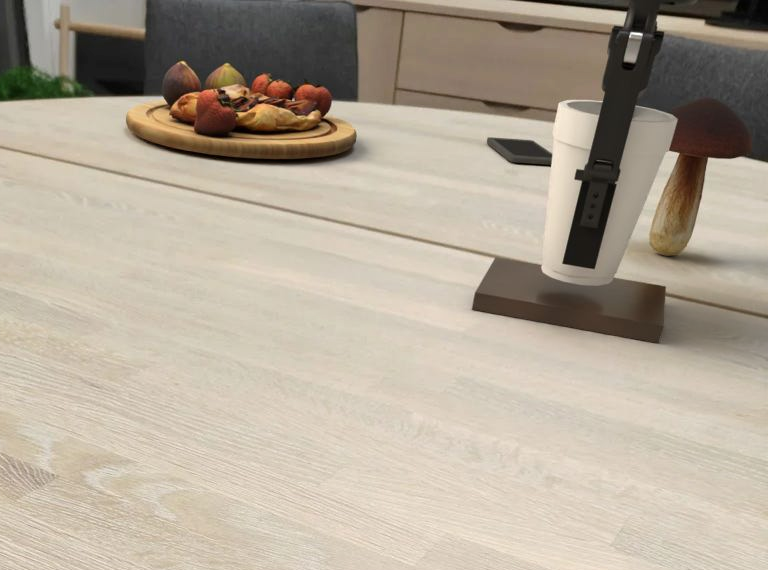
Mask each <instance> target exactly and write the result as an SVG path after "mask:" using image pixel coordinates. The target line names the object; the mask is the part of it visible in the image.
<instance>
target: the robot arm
mask: <svg viewBox="0 0 768 570" xmlns="http://www.w3.org/2000/svg"><path fill="white" fill-rule="evenodd" d="M628 1H629V4H628V6H627V11H626V14H625V19H624V21H623V26H621V25H615V24H614V25H613V27H611V32H610V36H609V38H608V39H609V40H608V43H607V50H606V54H607V60H606V65H605V69H604V72H603V76H602V81H601V91H603V93H604V94H603V98H602V101H603V102H602V106H601V110H600V114H599V119H598V123H597V127H596V131H595V135H594V139H593V143H592V147H591V151H590V155H589V159H588V163H587V164H585V167H584V170H580V169H576V173H575V178H574V180H579V181H582V183H581V187H580V192H579V196H578V200H577V204H576V208H575V212H574V216H573V221H572V225H571V229H570V233H569V237H568V241H567V246H566V250H565V254H564V258H563V262H562V264H566V265H572V266H578V267H583V268H589V269H595V266H596V262H597V259H598V255H599V251H600V247H601V243H602V239H603V236H604V232H605V228H606V224H607V220H608V216H609V213H610V209H611V205H612V201H613V197H614V193H615V189H616V186H617V184H615V182H617V181H618V178H619V175H620V171H621V170H620V168H619V167H620V163H621V160H622V156H623V152H624V148H625V144H626V140H627V136H628V133H629V129H630V125H631V121H632V117H633V113H634V110H635V106H637V100H638V99H639V98H641V97H643V96H644V95H645V94H646V92H647V89H648V86H649V81H650V77H651V74H652V70H653V66H654V63H655V62H656V61H657V60H658V58H659V56H660V52H661V48H662V45H663V41H664V38H665V31H664V30H658V27H659V26H658V20H657V19H658V15H659V12H660V7H661V5H667V6H675V7H676V6H678V7H688V6H689V7H690V6H693V5H695V4H696V3H697V2H698V0H628ZM597 160H602V161H609V162H612V163H607V162H601V161H597Z"/></svg>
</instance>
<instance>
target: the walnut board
mask: <svg viewBox="0 0 768 570" xmlns="http://www.w3.org/2000/svg"><path fill="white" fill-rule="evenodd" d="M541 266H542V264H537V263H530V262H526V261H525V262H524V261H519V260H513V259H507V258H501V257H494V259H493V261H492V262H491V264H490V266H489V268H487V271H486V273H485V275H484V276H483V277H482V279H481V282H480V283H479V285H478V287H477V288H476V289H475V292H474V295H473V301H472V305H471V306H472V307H471V310H473V311H478V312H484V313H489V314H496V315H501V316H506V317H511V318H516V319H523V320H527V321H534V322H540V323H544V324H551V325H555V326H560V327H567V328H572V329H578V330H583V331H589V332H594V333H599V334H605V335H612V336H616V337H622V338H628V339H631V340H632V339H633V340H637V341H638V340H639V341H644V342H650V343H655V344H660V340H661V337H662V334H663V331H664V328H665V317H666V316H665V315H666V314H665V313H666V297H667V293H666V292H667V286H665V285H660V284H654V283H648V282H643V281H638V280H631V279H625V278H620V277H614V279H613V281H612V282H610V283H609V284H605V285H598V286H594V285H579V284H573V283H568V282H564V281H560V280H557V279H554V278H551V277H550V276H548V275H546V274H545V273H543V272H542V269H541Z"/></svg>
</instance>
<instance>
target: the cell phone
mask: <svg viewBox="0 0 768 570" xmlns="http://www.w3.org/2000/svg"><path fill="white" fill-rule="evenodd" d="M486 144H487V145H488V146H490V147H491V148H493V149H494V151H496V152H497V153H499V154H500V155H501V156H502V157H504V158H505V159H506V160H508V161H509V162H511V163H516V164H517V163H518V164H534V165H548V166H551V164H552V154H553V152H551V151H549V150H548V149H546V148H545V147H544V146H542V145H540V144H539V143H537V142H536V141H534V140H532V139H519V138H505V137H490V136H489V137H487V138H486Z"/></svg>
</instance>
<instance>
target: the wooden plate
mask: <svg viewBox="0 0 768 570" xmlns="http://www.w3.org/2000/svg"><path fill="white" fill-rule="evenodd" d="M291 83H292V82H291V80H290V79H288V80H285V81H284V80H283V79H277V80H274V79H273V77H272V73H267V72H263V73H262V74H261V75H259V76H258V75H257V77H256V78H255V79H254V80H253V81H252V84H251V88H249V87H247V82H246V80H245V78H244V77H243V75H242V74H241V73H240V72H239V71H237V70H236V69H235V68H234V67H233V66H231V64H230V63H229V62H226V63H223V65H221V66H219V67H218V68H215V69H214V71H212V72H211V73H210V74H209V75H208V76H207V78H206V80H205V82H204V86H203V88H202V83H201V81H200V79H199V77H198V76H197V74H196V73H195V71H194V70H193V69H192V67H190V66H189V65H188V64H187V62H186V61H185V60H181V61H179V62H176V63H175V64H174V65H172V66H171V67H170V68H168V70H167V72H166V73H165V76H164V78H163V80H162V84H161V94H162V97H163V99H164V100H161V101H151V102H147V103H142V104H138V105H135V106H134V107H131V108H130V109H129V110H128V111H127V112H126V116H125V124H126V126H127V128H128V130H129V131H130V132H131V133H133V134H134V135H135V136H137V137H139V138H141V139H142V140H146V141H148V142H151V143H154V144H157V145H160V146H165V147H169V148H172V149H175V150H176V149H177V150H183V151H188V152H193V153H199V154H200V153H201V154H207V155H213V156H222V157H233V158H244V159H245V158H246V159H263V160H265V159H266V160H296V159H311V158H321V157H329V156H335V155H338V154H341V153H344V152H346V151H348V150H350V149H351V148H352V147H354V145H355V144H356V142H357V137H358V134H357V130H356V129H355V127H354V126H353V125H352V124H351V123H349V122H347V121H345V120H343V119H341V118H338V117H335V116H333V115H330V114H328V113H329V112H330V110H331V108H332V104H333V97H332V94H331V92H330V91H329V89H328V88H326V87H325V86H322V84H320V83H318V84H316V85H311V82H310V81H309V79H308V78H305V77H303V84H302V85H300V84H298V83H296V85H295V86H291ZM202 89H203V91H202ZM293 98H294V100H293Z"/></svg>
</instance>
